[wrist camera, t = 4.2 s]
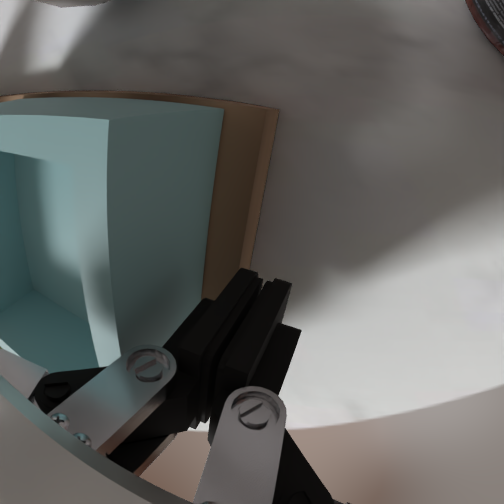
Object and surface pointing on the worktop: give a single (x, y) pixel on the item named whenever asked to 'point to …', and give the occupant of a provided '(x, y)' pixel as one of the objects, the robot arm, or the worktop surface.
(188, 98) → the rail base
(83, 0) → the plastic bottle
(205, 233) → the teal open box
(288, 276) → the worktop surface
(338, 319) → the worktop surface
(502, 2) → the supplement bottle
